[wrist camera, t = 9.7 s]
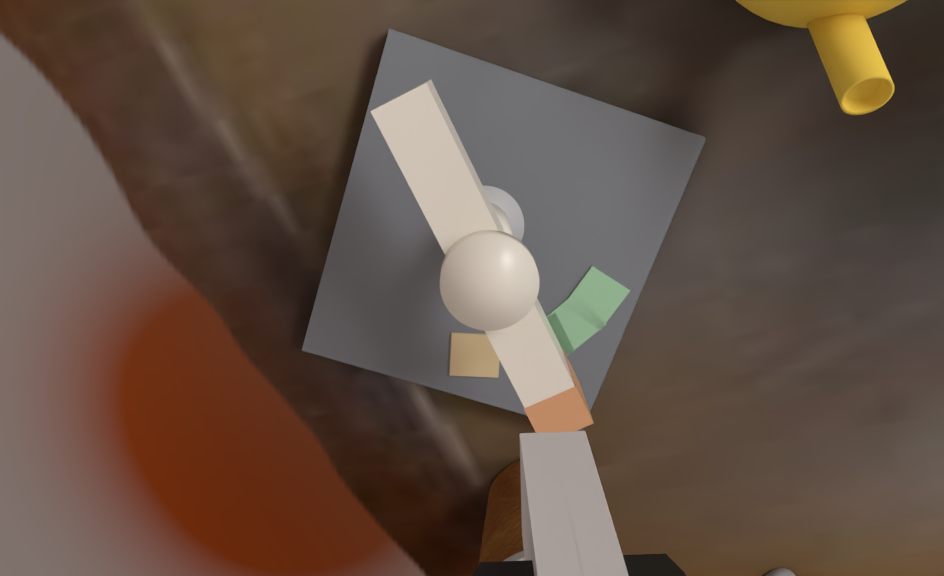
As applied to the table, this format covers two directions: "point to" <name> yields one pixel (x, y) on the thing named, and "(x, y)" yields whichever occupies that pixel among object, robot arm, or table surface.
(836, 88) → the teapot
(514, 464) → the disposable coffee cup
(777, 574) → the smartphone
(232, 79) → the table surface
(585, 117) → the tuner board
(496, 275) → the white pivoting lever
